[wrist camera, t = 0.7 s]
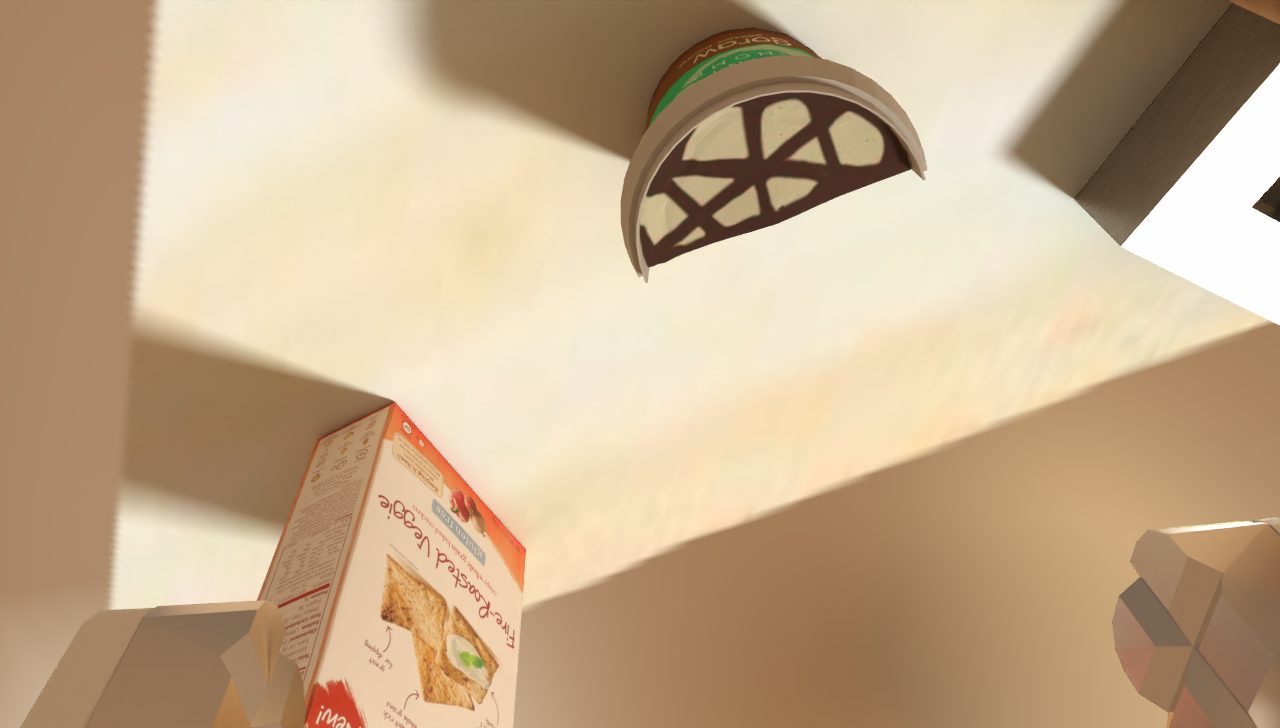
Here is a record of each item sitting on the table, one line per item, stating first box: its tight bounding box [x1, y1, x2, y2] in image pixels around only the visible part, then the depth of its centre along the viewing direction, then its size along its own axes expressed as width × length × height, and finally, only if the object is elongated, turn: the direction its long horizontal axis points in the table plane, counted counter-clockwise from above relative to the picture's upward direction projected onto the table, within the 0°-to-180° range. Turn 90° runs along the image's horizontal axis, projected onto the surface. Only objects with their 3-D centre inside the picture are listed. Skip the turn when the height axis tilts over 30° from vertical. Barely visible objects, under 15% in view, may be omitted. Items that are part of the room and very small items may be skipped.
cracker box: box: [257, 403, 526, 728], centre depth 47 cm, size 14×6×21 cm, turn 28°
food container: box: [621, 28, 927, 283], centre depth 38 cm, size 12×6×10 cm, turn 112°
